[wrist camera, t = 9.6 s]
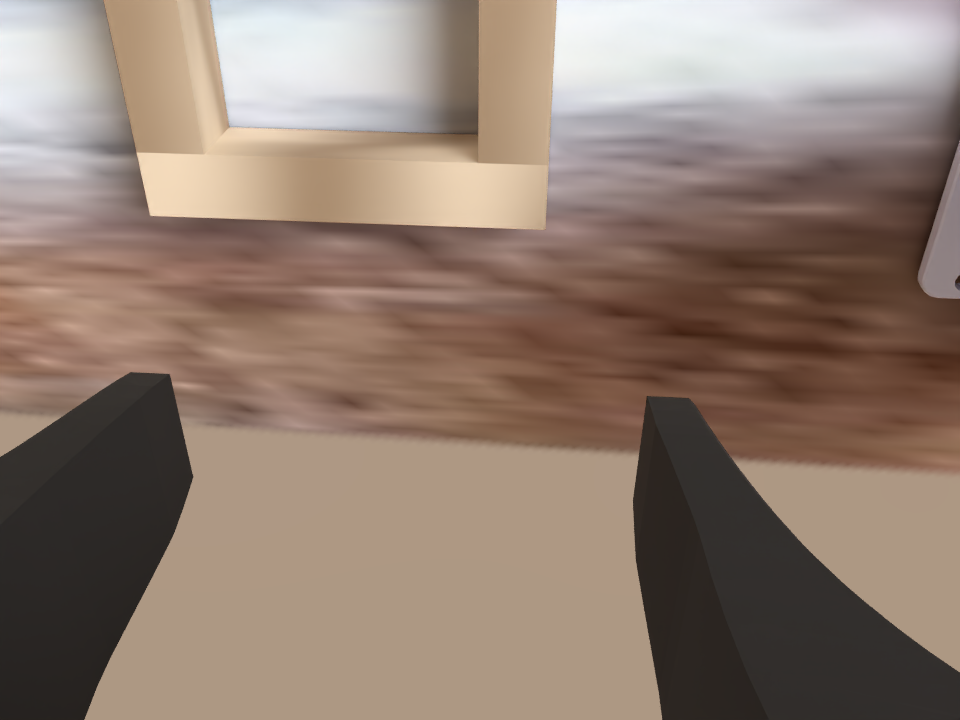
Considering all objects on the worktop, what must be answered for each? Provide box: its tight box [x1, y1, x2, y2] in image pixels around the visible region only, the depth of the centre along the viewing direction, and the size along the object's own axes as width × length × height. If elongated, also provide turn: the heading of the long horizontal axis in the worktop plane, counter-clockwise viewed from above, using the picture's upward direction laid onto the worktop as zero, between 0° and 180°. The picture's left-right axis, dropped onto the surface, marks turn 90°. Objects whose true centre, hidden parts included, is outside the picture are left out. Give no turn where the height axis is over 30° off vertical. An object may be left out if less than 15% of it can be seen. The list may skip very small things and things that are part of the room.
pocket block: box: [104, 0, 557, 230], centre depth 18 cm, size 9×9×2 cm
